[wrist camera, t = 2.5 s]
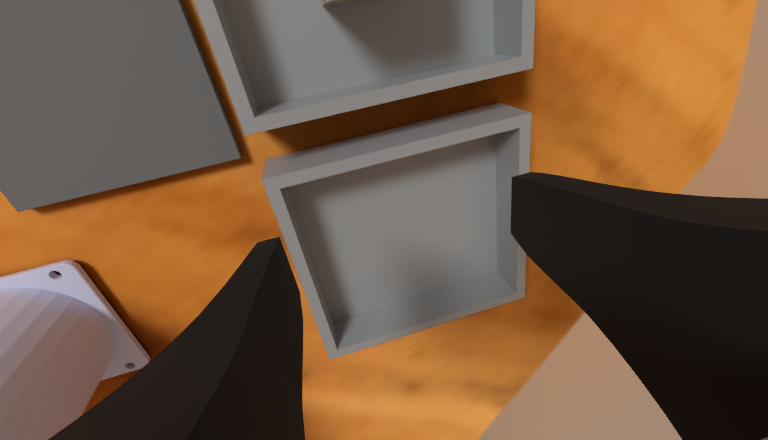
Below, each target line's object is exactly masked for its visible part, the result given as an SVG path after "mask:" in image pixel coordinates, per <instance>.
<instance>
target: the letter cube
mask: <svg viewBox="0 0 768 440" xmlns="http://www.w3.org/2000/svg"><path fill="white" fill-rule="evenodd" d="M346 1H351V0H321V2H322V6H325V5H330V4H335V3H340V2H346Z"/></svg>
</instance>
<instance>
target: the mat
mask: <svg viewBox="0 0 768 440" xmlns="http://www.w3.org/2000/svg"><path fill="white" fill-rule="evenodd" d="M241 157H242V152H241V150H240V147H239V145H238V142H237V140H236V137H235V135H234V132H233V130H232V127H231V125H230V122H229V119H228V117H227V114H226V112H225V109H224V107H223V104H222V102H221V99H220V97H219V94H218V92H217V89H216V86H215V84H214V81H213V79H212V76H211V74H210V71H209V69H208V66H207V64H206V61H205V59H204V56H203V53H202V51H201V48H200V46H199V43H198V41H197V38H196V36H195V33H194V31H193V28H192V26H191V23H190V20H189V18H188V15H187V13H186V10H185V8H184V5H183V3H182V0H0V190H1V192H2V193H3V194H4V195H5V197H6V198H7V199H8V200H9V202H10V203H11V204H12V205H13V207H14V208H15V209H16V210H17V212H20V211H24V210H28V209H32V208H37V207H41V206H45V205H49V204H53V203H57V202H62V201H66V200H70V199H74V198H78V197H82V196H86V195H91V194H95V193H99V192H103V191H107V190H111V189H116V188H120V187H124V186H128V185H132V184H136V183H140V182H145V181H149V180H153V179H157V178H161V177H165V176H169V175H174V174H178V173H182V172H186V171H190V170H194V169H199V168H203V167H207V166H211V165H215V164H219V163H223V162H228V161H232V160H236V159H240V158H241Z"/></svg>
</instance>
